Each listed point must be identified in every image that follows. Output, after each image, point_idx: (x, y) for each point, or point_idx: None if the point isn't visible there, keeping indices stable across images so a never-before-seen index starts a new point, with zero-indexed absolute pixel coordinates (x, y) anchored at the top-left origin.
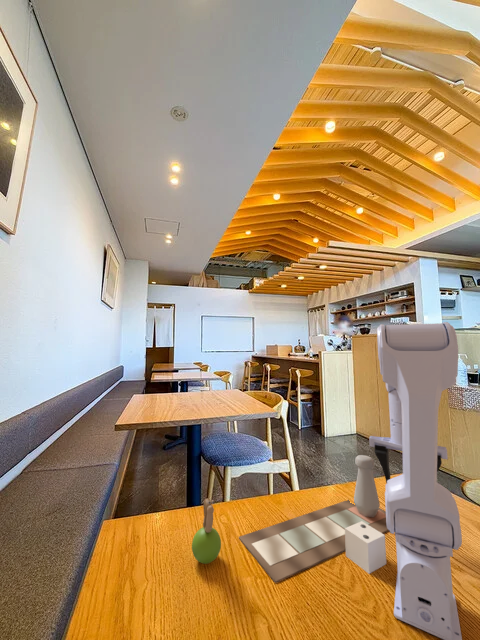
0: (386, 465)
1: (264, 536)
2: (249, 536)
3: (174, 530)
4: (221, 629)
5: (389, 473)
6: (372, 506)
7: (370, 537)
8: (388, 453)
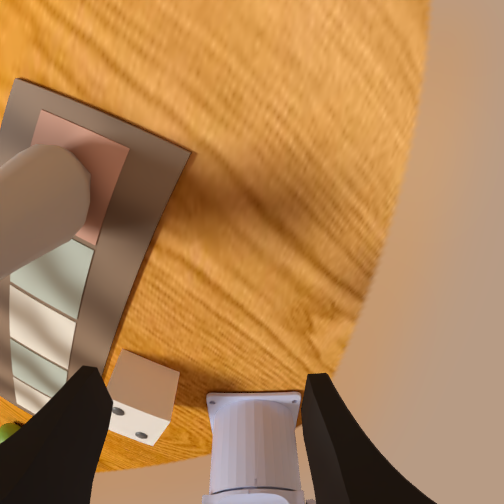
0: (85, 497)
1: (9, 385)
2: (2, 390)
3: None
4: (96, 470)
5: (84, 414)
6: (71, 237)
7: (149, 434)
8: (14, 488)
